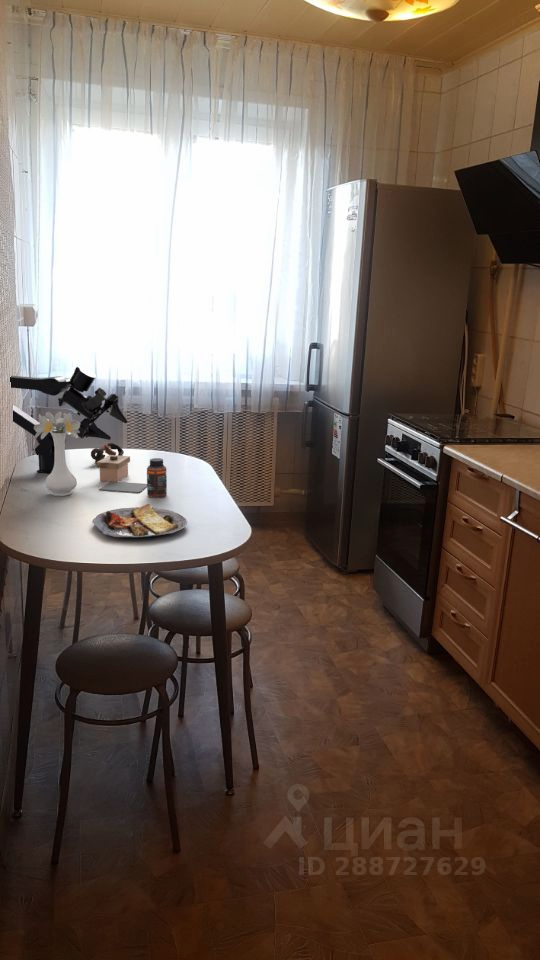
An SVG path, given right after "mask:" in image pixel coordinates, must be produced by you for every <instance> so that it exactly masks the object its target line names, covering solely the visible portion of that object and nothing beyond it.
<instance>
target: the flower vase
mask: <svg viewBox="0 0 540 960" xmlns="http://www.w3.org/2000/svg"><path fill="white" fill-rule="evenodd" d="M62 414H63V418H62ZM38 422H39V423H40V424H36V425H35V426H34V430H36V432H37V433H36V435H35V437H34V439H35V440H36V438H37V437H38V436H39V435H40V434H41V433H42V432H43V433H42V434H41V439H43V438H44V437H45V436H46V435H47V434H48V433H49V432H51V435H52V436H53V440H54V447H55V462H54V468H53V470H52V472H51V473H49V475H48V476H47V477H46V479H45V481H44V483H45V484H44V485H45V488H46V489H47V490H48V491H50V495H52V496H54V497H65V496H69V495H71V494H72V493H73V490H75V488H76V487H77V485H78V481H77V478H76V477H75V475H74V474H73V473H71V471H70V470H69V468H68V465H67V462H66V461H67V460H66V447H65V445H66V442H65V438H66V436H67V435H68V436H70V437H71V438H76V439H79V436H78V434H77V433H80V431H79V430H78V429H79V428H80V422H81V421H78V420H76V419H73V415H72V413H70V412H69V413H66V412H63V413H62V411H58V412H57V413H55V415H54V414H52V413H51V412H50V411H47V412H46V413H45V415H41V414H40V413H39V415H38ZM54 427H56V428H57V429H56V428H54ZM59 429H60V431H59ZM53 430H57V431H53ZM76 432H77V433H76Z"/></svg>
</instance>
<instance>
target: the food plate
mask: <svg viewBox="0 0 540 960" xmlns="http://www.w3.org/2000/svg"><path fill="white" fill-rule="evenodd" d="M91 522H92V524H93V525H94V526H95V527H96V529H98V530H99V531H101V532H102V534H103V535H106V536H110V537H114V538H133V539H135V538H137V539H138V538H139V539H140V538H141V539H142V538H143V539H144V538H150V537H157V536H158V537H159V536H161V535H163V536H164V535H167V534H168V535H169V534H173V533H175V532H178V531H181V530H182V529H184V528H185V527H186V526H187V525H188V520H187V519H186V518H185V517H184V516H183V515H181V514H180V513H178V512H175V511H173V510H169V509H165V508H159V507H157V508H156V507H153V506H152V507H151V504H150V503H147V504H145V505H142V506H140V507H139V506H138V507H137V506H135V507H123V508H122V507H120V508H117V509H111V510H106V511H105V512H101V513H99V514H97V515H96V516H95V517H94V518H93V519H92V521H91ZM135 523H136V524H135ZM120 531H121V532H120ZM119 533H121V534H119ZM149 533H152V534H149ZM125 534H128V535H125ZM131 534H132V535H131Z"/></svg>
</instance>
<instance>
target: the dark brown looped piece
mask: <svg viewBox="0 0 540 960" xmlns="http://www.w3.org/2000/svg"><path fill="white" fill-rule="evenodd" d="M114 450H117V452H116V451H114ZM124 452H125V450H123V448H122V447H121V446H120V445H117V444H116V443H114V442H106V443H105V444H104V445H102V446H100V447H96V448H93V449H91V451H90V457H91V458H92V460H94V463H95V464H97V462H98V461H100V460H102V459H104V458H105V457H106V454H107V455H108V456H109V455H116V456H124V454H125V453H124ZM104 453H105V454H104ZM117 453H118V454H117Z"/></svg>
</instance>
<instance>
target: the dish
mask: <svg viewBox="0 0 540 960" xmlns="http://www.w3.org/2000/svg"><path fill="white" fill-rule="evenodd" d="M128 476H129V463H127V464H126V465H124V466H123V467H121V468H119V469H110V468H99V481H100V482H108V483H109V482H110V481H114V482H118V481H119V482H121V481H122V479H124V478H126V477H128Z"/></svg>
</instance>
